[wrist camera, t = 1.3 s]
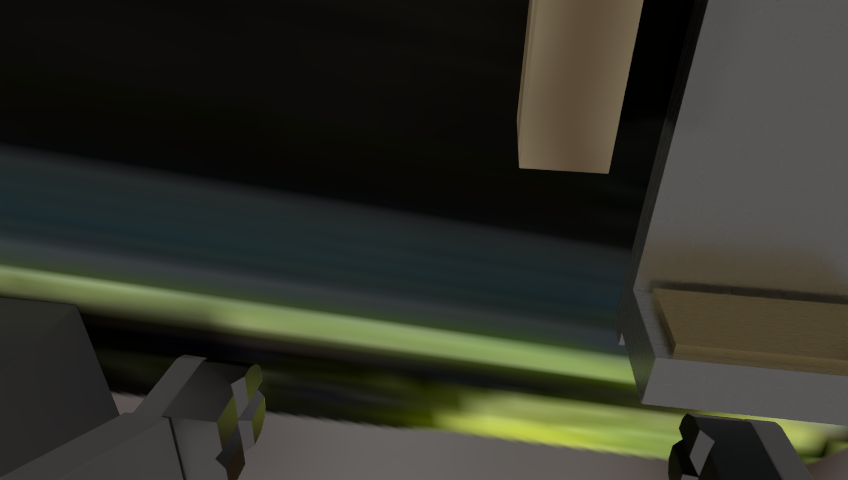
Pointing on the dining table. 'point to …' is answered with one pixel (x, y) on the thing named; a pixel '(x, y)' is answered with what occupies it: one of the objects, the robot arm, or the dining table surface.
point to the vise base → (748, 219)
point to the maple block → (574, 82)
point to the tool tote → (46, 381)
